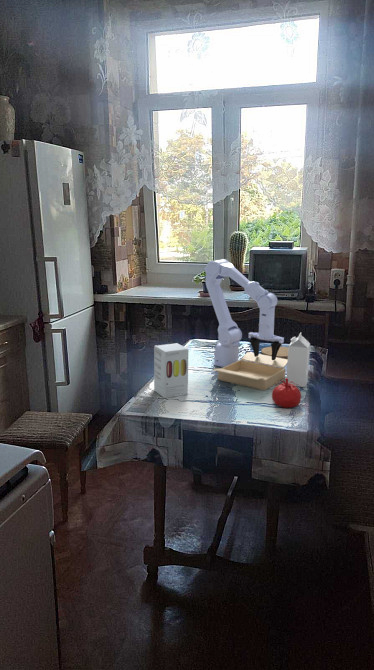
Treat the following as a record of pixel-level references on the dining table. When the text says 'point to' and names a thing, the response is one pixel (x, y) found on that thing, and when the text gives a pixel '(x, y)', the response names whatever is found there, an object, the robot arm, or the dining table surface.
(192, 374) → the dining table surface
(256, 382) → the carton
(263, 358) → the back flap
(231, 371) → the front flap
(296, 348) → the milk carton
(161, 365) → the supplement box
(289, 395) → the pomegranate
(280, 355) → the wood log slice
